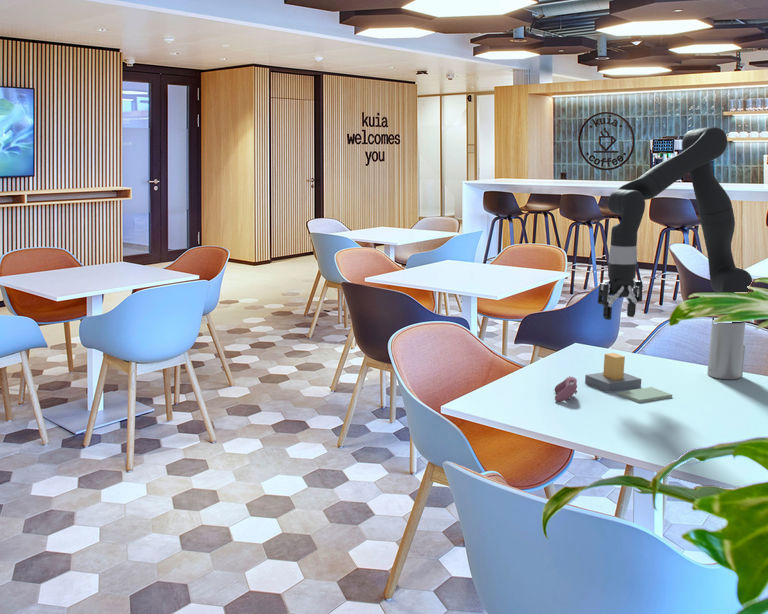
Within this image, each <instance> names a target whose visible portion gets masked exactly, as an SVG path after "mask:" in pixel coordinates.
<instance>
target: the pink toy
mask: <svg viewBox="0 0 768 614" xmlns="http://www.w3.org/2000/svg"><path fill="white" fill-rule="evenodd" d="M577 383H578V379H577V378H576V377H574V376H570V375H569V376H568V377H566V378H565V379H564V380H563V381H561V382H560V383H558V384H557V385H555V387H554V388H553V389H554V392H555V393H556V395H555V396H554V401H555V402H557V403H558V402H559V403H560V402H564V401H567V400H569V399H570V398H571V397H572V396H574V394H575V395H577V394H578V389H577V388H578V385H577Z"/></svg>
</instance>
